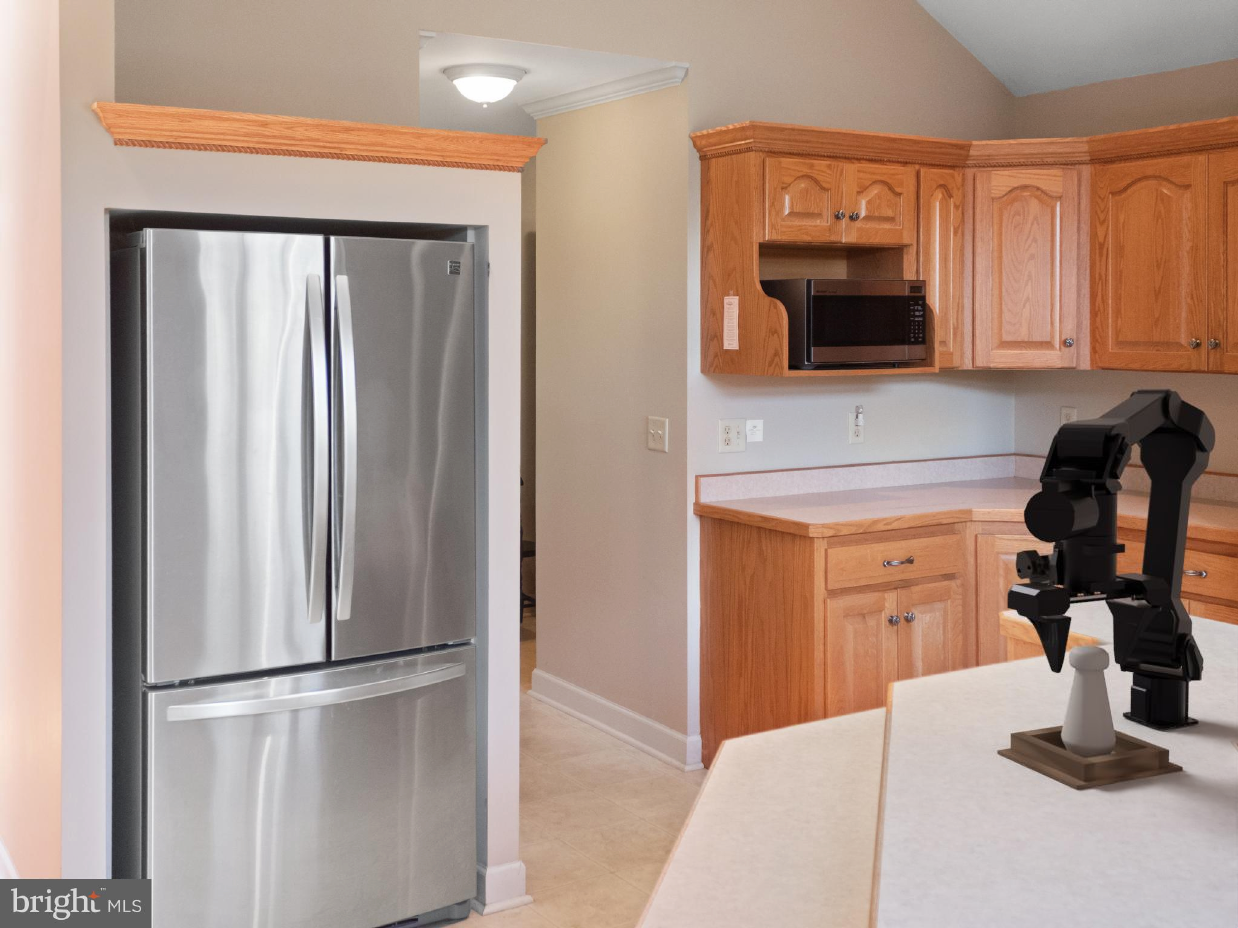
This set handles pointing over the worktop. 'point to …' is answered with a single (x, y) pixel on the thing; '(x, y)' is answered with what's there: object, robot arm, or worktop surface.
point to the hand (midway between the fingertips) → (1088, 668)
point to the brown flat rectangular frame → (1087, 759)
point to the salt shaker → (1088, 705)
